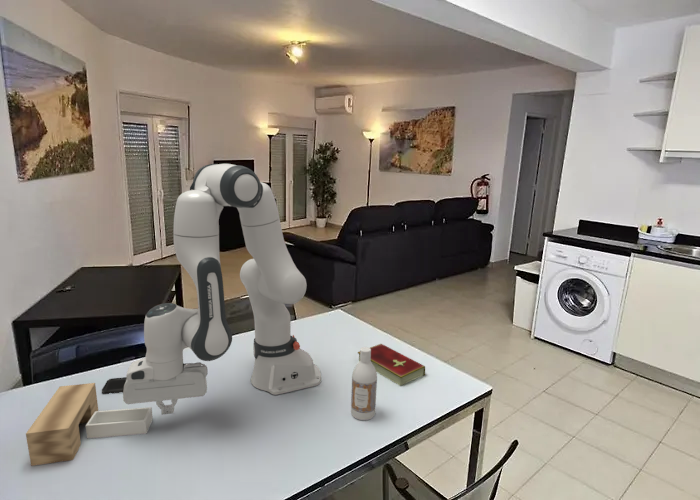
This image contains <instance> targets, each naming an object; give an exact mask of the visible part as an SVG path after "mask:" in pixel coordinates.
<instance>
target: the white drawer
mask: <svg viewBox="0 0 700 500" xmlns="http://www.w3.org/2000/svg"><path fill="white" fill-rule="evenodd" d="M153 416H154V415H153V407H152V406H149V407H138V408H123V409H121V408H120V409H110V410H109V409H107V410H98V411H95V412H94V414H93V415H92V417H91V418H90V420H89V421H88V423H85V431H86V432H85V433H86V438H87V439H97V438H98V439H99V438H100V439H101V438H109V437H111V438H112V437H120V436H121V437H122V436H133V435H134V436H135V435H144V434H146V435H147V433H148V431H149V429H150V427H151V425H152V422H153V419H154V418H153Z"/></svg>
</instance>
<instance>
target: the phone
mask: <svg viewBox="0 0 700 500" xmlns="http://www.w3.org/2000/svg"><path fill="white" fill-rule="evenodd" d="M126 380H127V377H126V376H125V377H114V378H113V377H112V378H109V379H107V380H106V382H105V384H104V385H103V387H102V389H101V394H102V395H110V394H109V393H112V394H120V393H119V392H122V393H123V390H124V385H125V382H126Z"/></svg>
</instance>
